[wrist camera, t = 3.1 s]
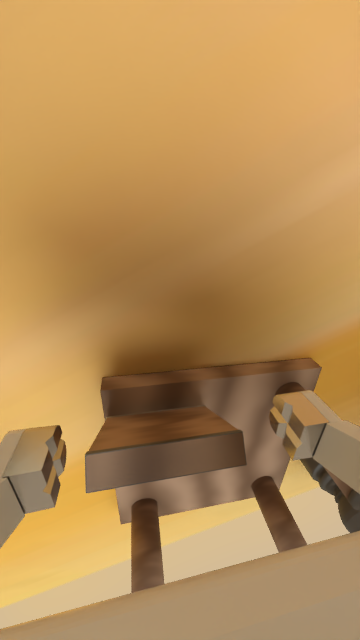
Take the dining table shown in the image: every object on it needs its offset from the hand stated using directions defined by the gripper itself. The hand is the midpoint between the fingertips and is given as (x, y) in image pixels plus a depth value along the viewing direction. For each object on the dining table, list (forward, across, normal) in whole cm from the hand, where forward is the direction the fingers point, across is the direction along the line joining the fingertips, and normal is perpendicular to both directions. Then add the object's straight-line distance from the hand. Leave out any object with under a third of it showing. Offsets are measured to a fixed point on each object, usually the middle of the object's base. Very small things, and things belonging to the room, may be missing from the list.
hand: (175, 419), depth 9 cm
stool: (+15, -7, +22) cm, 27 cm away
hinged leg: (+11, 0, +13) cm, 17 cm away
